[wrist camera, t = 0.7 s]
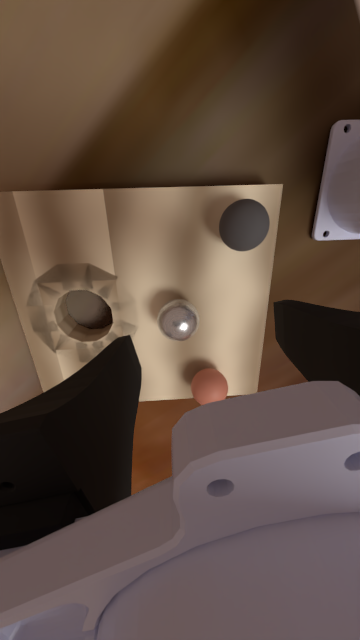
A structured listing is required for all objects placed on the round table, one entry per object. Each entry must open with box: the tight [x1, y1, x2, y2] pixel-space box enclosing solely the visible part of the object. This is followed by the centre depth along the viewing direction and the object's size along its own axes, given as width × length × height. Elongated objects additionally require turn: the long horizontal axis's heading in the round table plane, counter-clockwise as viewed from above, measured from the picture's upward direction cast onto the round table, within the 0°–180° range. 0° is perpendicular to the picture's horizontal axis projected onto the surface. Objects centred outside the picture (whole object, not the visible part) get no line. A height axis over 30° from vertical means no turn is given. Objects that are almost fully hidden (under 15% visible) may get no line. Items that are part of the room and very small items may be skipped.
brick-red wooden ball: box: [191, 368, 228, 405], centre depth 21 cm, size 3×3×3 cm
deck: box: [0, 184, 283, 401], centre depth 21 cm, size 20×18×2 cm
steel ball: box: [157, 299, 200, 341], centre depth 18 cm, size 3×3×3 cm
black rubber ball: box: [219, 199, 270, 251], centre depth 16 cm, size 3×3×3 cm
